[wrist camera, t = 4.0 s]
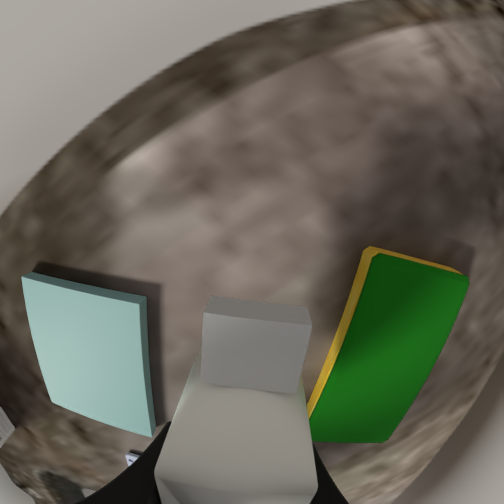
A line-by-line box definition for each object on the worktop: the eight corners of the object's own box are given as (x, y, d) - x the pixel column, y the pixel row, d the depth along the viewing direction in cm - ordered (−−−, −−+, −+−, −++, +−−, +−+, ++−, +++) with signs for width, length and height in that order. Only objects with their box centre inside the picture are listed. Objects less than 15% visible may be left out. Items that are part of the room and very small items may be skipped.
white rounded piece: (271, 477, 12) (269, 556, 7) (193, 468, 12) (175, 545, 7) (323, 283, 9) (373, 381, 4) (197, 268, 9) (135, 354, 4)
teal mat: (156, 427, 20) (152, 437, 19) (58, 394, 20) (51, 402, 19) (146, 296, 17) (139, 304, 16) (31, 271, 17) (21, 276, 16)
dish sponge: (297, 418, 20) (300, 441, 17) (362, 242, 16) (376, 253, 14) (378, 423, 20) (386, 443, 17) (452, 267, 16) (472, 278, 14)
